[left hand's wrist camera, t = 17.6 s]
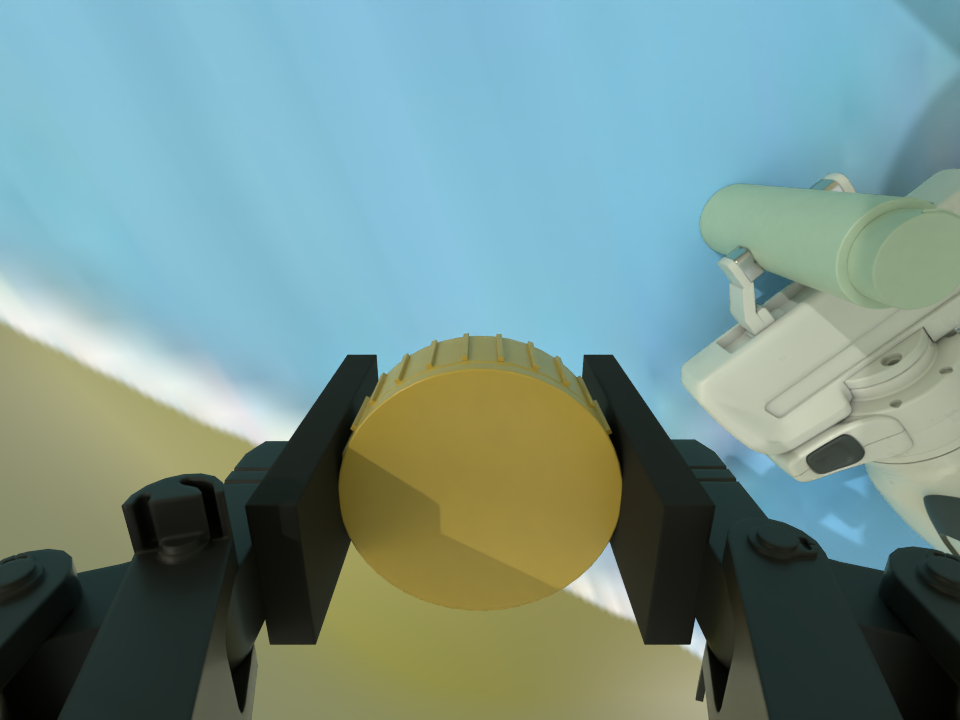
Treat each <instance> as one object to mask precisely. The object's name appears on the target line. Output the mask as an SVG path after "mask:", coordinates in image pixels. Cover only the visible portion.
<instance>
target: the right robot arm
mask: <svg viewBox="0 0 960 720" xmlns="http://www.w3.org/2000/svg"><path fill="white" fill-rule="evenodd" d="M810 189H814V190H826V191H838V192H850V193H857V192H856V191H855V189H854V187H853V186H852V184H851V183H850V181H849V180H848V178H847V177H845V176H844V175H843V174H840V173H829V174H827V175H826V176H825V177H824V178H822V179H821V180H820V181H819V182H817V183H816V184H815V185H814V186H812V187H811V188H810ZM905 197H911V198H918V199H922V200H925V201H927V202H929V203H931V204H933V205H934V206H936V207H937V208H940V209H945V210H951V212H953V213H955V214H957V215H959V216H960V169H945V170H941V171H939V172H937V173H935V174H934V175H932V176H931V177H930V178H928V179H927V180H926V181H924V182H923V183H922V184H921V185H919V186H918V187H917V188H915V189H914V190H913V191H911V192H910V193H909V194H907V195H906V196H905ZM754 261H755V259H754V257H753V255H752V254H751V253H750V252H749V251H748V250H747V249H745V248H740V247H739V246H738V247H736V248H735V249H734V250H732V251H731V252H730V253H728V254H727V255H726V256H724V257H723V258H722V259H720V260H719V261H718V262H717V263H718V265H719V267H720V268H721V269H722V271H723V272H724V273H725V275H726V276H727V277H728V279H729V280H730V281H731V283H729V289H730V313H731V314H732V315H733V317H734V318H735V319H736V321H737V322H738V323H737V324H736V325H734V326H733V327H732V328H730V329H729V330H728V331H726V332H725V333H724V334H722V335H721V336H720V337H718V338H717V339H716V340H714V341H713V342H712V343H711V344H709V345H708V346H707V347H705V348H704V349H703V350H701V351H700V352H699V353H697V354H696V355H695V356H693V357H692V358H691V359H689V360H688V361H687V362H685V363H684V364H683V366H682V369H681V384H682V385H683V386H684V387H685V389H686V390H687V391H688V392H689V393H690V394H691V395H692V397H693V398H694V399H695V400H696V401H697V402H698V403H699V404H700V405H701V406H702V407H703V408H704V409H705V410H706V411H707V412H708V413H709V414H710V415H711V416H712V417H713V418H714V419H715V420H716V421H717V422H718V423H719V424H720V425H721V426H722V427H723V428H724V429H726V430H727V431H728V432H729V433H730V434H731V435H733V436H734V437H735V438H736V439H737V440H739V441H740V442H741V443H743V444H744V445H745V446H747V447H748V448H750V449H752V450H754V451H756V452H759V453H762V454H766V455H767V457H768V458H769V459H771V460H772V461H773V462H774V463H775V464H776V465H777V466H778V467H779V468H781V469H782V470H783V471H785V472H786V473H787V474H788V475H790V476H791V477H793V478H794V479H796V480H797V481H800V482H808V481H812V480H816V479H819V478H821V477H824V476H827V475H830V474H833V473H836V472H839V471H842V470H845V469H848V468H851V467H855V466H858V465H861V464H865V467H866V471H867V474H868V476H869V478H870V480H871V481H872V483H873V484H874V486H875V487H876V489H877V490H878V491H879V492H880V494H881V495H882V496H883V498H884V499H885V500H886V501H887V502H888V504H889V505H890V506H891V507H892V508H893V509H894V510H895V512H896V513H897V514H898V515H899V516H900V517H901V518H902V519H903V520H904V521H905V522H906V523H907V524H908V525H909V526H910V527H911V528H912V529H913V530H914V531H915V532H916V533H917V534H918V535H919V536H921V537H922V538H923V539H924V540H925V541H926V542H927V543H929V544H930V545H931V546H932V547H934V548H935V549H936V550H938V551H943V552H944V553H949V554H952V555H955V556H957V557H959V558H960V284H959V286H958V287H957V288H956V289H955V290H954V291H953V292H952V293H950V294H949V295H948V296H947V297H945V298H944V299H942V300H941V301H939V302H937V303H935V304H933V305H930V306H927V307H924V308H920V309H913V310H905V309H898V308H895V307H892V308H887V309H869V308H865V307H861V306H859V305H856V304H853V303H851V302H848V301H845V300H843V299H840V298H837V297H835V296H832V295H829V294H827V293H824V292H822V291H819V290H816V289H814V288H811V287H808V286H806V285H803V284H800V283H798V282H795V281H792V282H791V283H790V284H788V285H787V286H786V287H784V288H783V289H782V290H781V291H779V292H778V293H777V294H775V295H774V296H773V297H771V298H770V299H769V300H767V301H766V302H765V303H763V304H762V305H759V304H757V303H755V293H754V282H753V281H754V280H755V279H756V278H758V277H759V276H760V275H761V274H763V273H764V270H763V269H762V267H761V266H760V265H759V264H758V263H755V262H754Z"/></svg>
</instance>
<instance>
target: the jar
mask: <svg viewBox="0 0 960 720" xmlns="http://www.w3.org/2000/svg"><path fill="white" fill-rule="evenodd" d="M700 230H701V234H702V237H703V239H704V241H705V242H706V244H707V245H708V246H709V247H710V248H711V249H713V250H714V251H716V252H719V253H721V254H724V255H727V254H728V253H730V252H731V251H732V250H734V249H735V248H736V247H738V246H739V247H740V248H745V249H747V250H748V251H749V252H750V253H751V254H752V255H753V257H754V259H755V261H754V262H755V263H758V264H759V265H760V266H761V267H762V269H763V270H766V271H769V272H771V273H774V274H777V275H779V276H782V277H785V278H787V279H790V280H793V281H795V282H798V283H800V284H803V285H806V286H808V287H811V288H814V289H816V290H819V291H822V292H824V293H827V294H829V295H832V296H835V297H837V298H840V299H843V300H845V301H848V302H851V303H853V304H856V305H859V306H861V307H865V308H869V309H887V308H892V307H895V308H898V309H905V310H913V309H920V308H924V307H927V306H930V305H933V304H935V303H937V302H939V301H941V300H942V299H944V298H945V297H947V296H948V295H949V294H950V293H952V292H953V291H954V290H955V289H956V288H957V287H958V286H959V284H960V216H959V215H957V214H955V213H953V212H951V210H945V209H940V208H937V207H936V206H934V205H933V204H931V203H929V202H927V201H925V200H922V199H918V198H911V197H899V196H887V195H875V194H863V193H850V192H838V191H826V190H814V189H801V188H789V187H777V186H765V185H752V184H733V185H729V186H727V187H724V188H723V189H721V190H719V191H718V192H716V193H715V194H714V195H713V196H712V197H711V198H710V199H709V201H708V202H707V204H706V205H705V207H704V209H703V212H702V215H701V220H700Z"/></svg>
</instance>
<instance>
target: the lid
mask: <svg viewBox="0 0 960 720" xmlns="http://www.w3.org/2000/svg"><path fill="white" fill-rule="evenodd" d="M351 430H353V432H352V434H351V436H350V438H349V440H348V442H347V444H346V446H345V449H344V451H343V453H342V463H341V467H340V471H339V480H338V490H339V499H340V508H341V515H342V520H343V523H344V525H345V528H346V530H347V533H348V535H349V537H350V539H351V541H352V542H353V544H354V546H355V548H356V549H357V551H358V552H359V553H360V555H361V556H362V557H363V559H364V560H365V561H366V562H367V563H368V564H369V566H370V567H372V568H373V569H374V570H375V571H376V572H377V573H378V574H379V575H380V576H381V577H383V578H384V579H385V580H386V581H388V582H389V583H390V584H392V585H393V586H395V587H397V588H398V589H400V590H402V591H403V592H405V593H407V594H409V595H411V596H414V597H416V598H418V599H420V600H423V601H426V602H429V603H432V604H435V605H439V606H444V607H448V608H453V609H461V610H470V611H489V610H501V609H507V608H513V607H518V606H522V605H525V604H529V603H532V602H535V601H538V600H540V599H542V598H545V597H547V596H550V595H552V594H554V593H555V592H557V591H559V590H561V589H563V588H564V587H566V586H567V585H569V584H570V583H572V582H573V581H574V580H576V579H577V578H579V577H580V576H581V575H582V574H583V573H584V572H585V571H586V570H587V569H588V568H590V567H591V565H592V564H593V563H594V562H595V561H596V560H597V558H598V557H599V556H600V555H601V553H602V552H603V550H604V549H605V547H606V546H607V544H608V543H609V541H610V539H611V537H612V534H613V532H614V530H615V528H616V525H617V522H618V518H619V512H620V503H621V494H622V480H623V479H622V473H621V467H620V462H619V459H618V457H617V454H616V451H615V448H614V446H613V443H612V441H611V439H610V437H609V435H610V434H612V431H611V429H610V427H609V425H608V423H607V421H606V419H605V417H604V415H603V413H602V411H601V409H600V407H599V404H598V402H597V400H594V401H593V400H592V398H591V396H590V393H589V391H588V389H587V387H586V385H585V383H584V381H583V379H582V377H581V376H578V377H576V376H575V375H574V374H573V373H572V372H571V371H570V370H569V369H568V368H567V367H566V366H564V365H563V363H562V361H561V358H560V357H558V356H556V357H555V358H554V357H552V356H550V355H549V354H547V353H545V352H544V351H542V350H540V349H537V348H535V347H534V345H533V343H532V342H529V341H528V343H527V344H526V343H522V342H519V341H515V340H511V339H507V338H502V335H501V334H496V337H493V336H469V333H467V334H464V336H463V337H460V338H454V339H450V340H446V341H441V342H439V343H438V342H437V340H435V341H432V343H431V345H430V346H428V347H425V348H423V349H421V350H419V351H417V352H416V353H414V354H412V355H410V356H409V354H408V353H407V354H406V355H404V356H403V359H402V361H401V362H400V363H399V364H397V365H396V366H395V367H394V368H393V369H392V370H391V371H390V372H389V373H388V374H387V375H386V374H385V373H383V374H382V375H381V376H380V379H379V381H378V383H377V385H376V387H375V389H374V392H373V393H372V395H371V397H368V396H366V398H365V400H364V402H363V404H362V406H361V408H360V410H359V412H358V414H357V416H356V418H355V421H354V423H353V425H352V427H351Z"/></svg>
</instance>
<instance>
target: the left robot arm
mask: <svg viewBox="0 0 960 720" xmlns="http://www.w3.org/2000/svg"><path fill="white" fill-rule="evenodd" d="M582 379H583V381H584V383H585V385H586V387H587V389H588V391H589V393H590V396H591V398H592V400H593V401H594V400H597V402H598V404H599V407H600V409H601V411H602V413H603V415H604V417H605V419H606V421H607V423H608V425H609V427H610V429H611V431H612V434H610V435H609V437H610V439H611V441H612V443H613V446H614V448H615V451H616V454H617V457H618V459H619V462H620V467H621V473H622V479H623V480H622V494H621V503H620V512H619V518H618V522H617V525H616V528H615V530H614V532H613V534H612V537H611V539H610V544H611V547H612V550H613V553H614V556H615V559H616V562H617V565H618V568H619V571H620V574H621V577H622V579H623V582H624V585H625V588H626V591H627V594H628V597H629V600H630V603H631V606H632V609H633V612H634V615H635V618H636V621H637V624H638V626H639V629H640V632H641V635H642V638H643V641H644V644H645V645H690V644H691V639H692V633H693V628H694V622H695V617H696V619H697V621H698V624H699V626H700V628H701V630H702V632H703V634H704V636H705V638H706V646H705V651H704V656H703V661H702V666H701V671H700V676H699V682H698V687H697V693H696V700H698V701H702V702H703V699H704V694H705V691H706V699H707V708H708V716H709V720H960V558H959V557H957V556H955V555H952V554H949V553H944V552H943V551H938V550H934V549H927V548H920V547H905V548H898V549H896V550H895V551H894V552H892V553H891V554H890V555H889V558H888V561H887V564H886V567H885V570H884V571H882V570H877V569H872V568H867V567H862V566H858V565H853V564H848V563H843V562H839V561H835V560H831V559H828V558H827V555H826V553H825V552H824V551H823V549H822V548H821V547H820V545H819V544H818V543H817V541H815V540H814V539H813V538H811V537H810V536H808V535H807V534H806V533H804V532H803V531H801V530H799V529H797V528H795V527H793V526H790V525H788V524H786V523H783V522H779V521H776V520H772V519H768V518H767V516H766V515H765V514H764V513H763V511H762V510H761V509H760V508H759V506H758V505H757V504H756V503H755V502H754V500H753V499H752V498H751V497H750V495H749V494H748V493H747V492H746V490H745V489H744V488H743V487H742V485H741V484H740V483H739V482H736V478H735V477H734V475H733V474H732V473H731V472H730V470H729V469H726V465H725V464H724V463H723V462H722V461H721V459H720V458H719V457H718V456H717V454H716V453H715V452H714V451H712V450H711V449H709V448H708V447H706V446H704V445H703V444H701V443H700V442H698V441H696V440H671V439H670V438H669V437H668V435H667V434H666V432H665V431H664V429H663V428H662V426H661V425H660V423H659V422H658V420H657V419H656V417H655V416H654V415H653V413H652V412H651V410H650V409H649V407H648V406H647V404H646V403H645V401H644V400H643V398H642V397H641V396H640V394H639V393H638V391H637V390H636V388H635V387H634V385H633V384H632V382H631V381H630V379H629V378H628V376H627V375H626V374H625V372H624V371H623V369H622V368H621V366H620V365H619V363H618V362H617V360H616V359H615V357H614V356H613V355H584V359H583V373H582ZM377 383H378V369H377V355H347V356H346V358H345V359H344V361H343V362H342V364H341V365H340V367H339V368H338V370H337V371H336V373H335V374H334V376H333V377H332V378H331V380H330V381H329V383H328V384H327V386H326V387H325V389H324V390H323V392H322V393H321V395H320V396H319V397H318V399H317V400H316V402H315V403H314V405H313V406H312V408H311V409H310V411H309V412H308V414H307V415H306V417H305V418H304V419H303V421H302V422H301V424H300V425H299V427H298V428H297V430H296V431H295V433H294V434H293V436H292V437H291V438H290V440H289V441H265V442H264V443H262V444H261V445H259V446H257V447H256V448H254V449H253V450H251V451H250V452H248V453H246V454H245V456H244V457H243V458H242V460H241V461H240V462H239V463H238V464H237V466H236V467H235V469H234V471H232V472H231V473H230V474H229V476H228V477H227V478H226V480H225V483H224V484H223V482H221V481H220V480H219V479H218V478H216V477H215V476H211V475H206V474H183V475H178V476H174V477H169V478H165V479H162V480H160V481H157V482H155V483H152V484H150V485H147V486H145V487H144V488H142V489H141V490H139V491H137V492H136V493H134V494H133V495H131V496H130V497H129V498H128V499H127V501H126V502H125V503H124V504H123V505H122V509H123V513H124V517H125V520H126V524H127V528H128V531H129V535H130V538H131V542H132V546H133V549H134V553H135V554H134V556H133V559H132V561H130V562H127V563H123V564H119V565H114V566H110V567H105V568H100V569H95V570H90V571H85V572H81V573H77V572H76V569H75V566H74V563H73V560H72V557H71V556H70V555H68V554H67V553H66V552H64V551H61V550H53V549H44V550H37V551H29V552H25V553H20V554H18V555H16V556H15V555H14V556H11V557H8V558H5V559H3V560H1V561H0V720H251V718H252V709H253V701H254V693H255V684H256V676H257V668H258V664H257V657H256V651H255V646H254V642H255V640H256V638H257V636H258V633H259V631H260V629H261V627H262V625H263V623H264V621H265V620H266V626H267V631H268V637H269V642H270V645H315V644H316V642H317V639H318V636H319V633H320V630H321V627H322V624H323V622H324V619H325V616H326V613H327V610H328V607H329V604H330V601H331V598H332V595H333V592H334V589H335V586H336V583H337V580H338V577H339V575H340V572H341V569H342V566H343V563H344V560H345V557H346V554H347V551H348V548H349V545H350V542H351V539H350V537H349V535H348V533H347V530H346V528H345V525H344V523H343V520H342V515H341V508H340V499H339V490H338V480H339V471H340V467H341V463H342V453H343V451H344V449H345V446H346V444H347V442H348V440H349V438H350V436H351V434H352V432H353V430H351V427H352V425H353V423H354V421H355V418H356V416H357V414H358V412H359V410H360V408H361V406H362V404H363V402H364V400H365V398H366V396H368V397H371V395H372V393H373V392H374V389H375V387H376V385H377Z"/></svg>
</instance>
